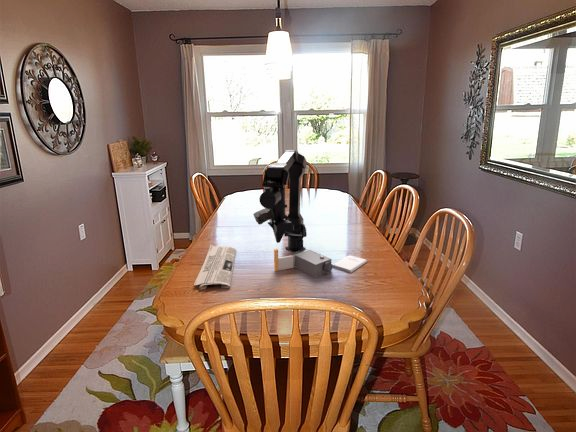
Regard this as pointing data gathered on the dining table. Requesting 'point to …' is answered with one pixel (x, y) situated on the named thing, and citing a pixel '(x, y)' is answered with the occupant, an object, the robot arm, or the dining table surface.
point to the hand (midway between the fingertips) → (278, 242)
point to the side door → (283, 261)
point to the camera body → (313, 263)
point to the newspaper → (217, 267)
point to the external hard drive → (349, 263)
